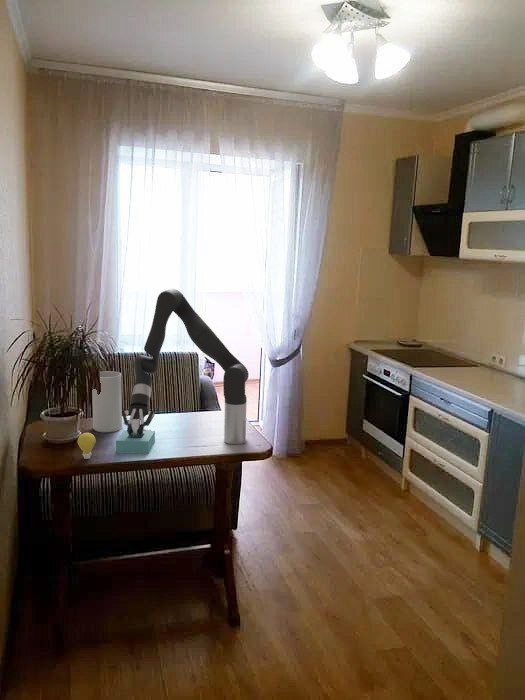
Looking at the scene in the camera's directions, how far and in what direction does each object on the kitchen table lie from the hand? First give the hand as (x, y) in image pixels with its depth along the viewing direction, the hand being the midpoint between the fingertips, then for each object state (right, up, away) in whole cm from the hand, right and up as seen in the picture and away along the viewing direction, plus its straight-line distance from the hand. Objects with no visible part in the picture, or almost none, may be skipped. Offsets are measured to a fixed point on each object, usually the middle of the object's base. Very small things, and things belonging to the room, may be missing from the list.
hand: (134, 433), depth 228 cm
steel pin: (0, -4, +3) cm, 5 cm away
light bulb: (-16, -8, -10) cm, 21 cm away
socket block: (0, -6, +3) cm, 7 cm away
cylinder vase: (-18, -2, +26) cm, 31 cm away
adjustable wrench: (-4, -2, +27) cm, 27 cm away
